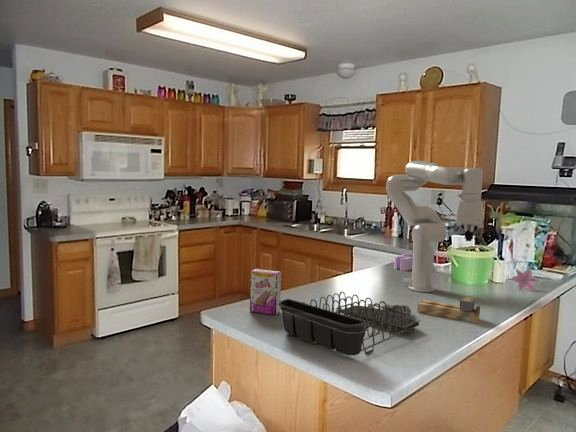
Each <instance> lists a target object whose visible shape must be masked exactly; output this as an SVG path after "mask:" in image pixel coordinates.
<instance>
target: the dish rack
mask: <svg viewBox="0 0 576 432" xmlns="http://www.w3.org/2000/svg"><path fill="white" fill-rule="evenodd" d="M341 294H343V295H344V298H343V297H342V298H341ZM335 295H336V296H337V297H338V300H335ZM354 296H355V297H356V298H357V301H354ZM329 297H331V300H332V301H331V303H332V304H331V309H330V304H329V303H328V300H329ZM348 298H349V299H350V301H351V303H347V301H348ZM359 298H360V297H359V295H357V294H352V296H347V297H346V293H345V292H344V291H340V292H339V293H337V292H336V293H334V294H333V295H331V294H328V295H327V296H326V297H325V296H321V297H320V299H319V305H318V303H317V301H316V299H314V298H313V299H311V300H310V303H309V304H308V303H305V302H304V301H298V300H294V299H292V298H286V299H282V300H280V302H279V306H280V311H281V318H282V324H283V325H282V326H283V329H284V331H285V333H287V334H289V335H291V336H294V337H296V336H297V337H298V338H299V339H302V340H305V341H307V342H309V343H310V342H311V343H315V345H318V346H321V347H323V348H326V349H328V350H331V351H333V350H335V352H337V353H340V354H342V355H345V356H350V357H352V356H357V355H359V354H361V352H363V351H364V354H365V355H368V354H371V353H373V352H374V350H375V349H374V346H377V345H379V344H382V343H383V342H386V341H388V340H390V339H392V338H394V337H397V336H398V335H401V334H403V333H405V332H407V334H408V335H410V334H412V333H414V332H415V328H417V327H418V326H420V322H421V319H419V320H417V319H414V318H413V317H411V316H410V314H408V313H405V312H402V309H401V307H400V305H399V304H396V306H395V307H397V306H398V307H399V308H400V309H401V311H398V310H395V307H394V308H392V307H390V308H387V306H386V304H387V303H386V302H385V301H384V300H382V301H381V300H380V302H379V303H377V302H375V303H374V304H373V301H372V299H371V298H370V297H366V298H365V299H359ZM322 299H324V301H325V303H324V304H323V305H322V308H321V304H322ZM342 300H343V301H344V304H343V305H341V301H342ZM367 300H370V303H367ZM313 301H314V302H315V306H314V305H312V302H313ZM335 302H336V303H337V304H338V306H337V308H336V309H335V305H334V304H335ZM362 302H363V303H364V305H361V303H362ZM354 304H355V305H354ZM356 304H357V305H356ZM381 304H383V305H385V307H382V306H383V305H382V306H381ZM367 305H368V306H367ZM348 306H350V307H348ZM343 307H344V308H343ZM375 307H376V308H375ZM383 308H385V309H386V310H385V309H384V310H383ZM387 309H388V311H387ZM389 310H393V312H390V311H389ZM397 312H400V313H401V315H400V314H397ZM402 313H404V314H407V315H409V317H407V316H404V315H402ZM369 322H370V324H369ZM376 325H378V329H377V331H376ZM369 328H371V335H370V334H369ZM392 329H395V334H393V335H391V330H392ZM387 331H388V335H389V337H387V338H385V332H387ZM398 331H400V332H398ZM366 333H367V337H366V338H365V336H366ZM380 334H382V340H380V341H377V342H376V341H375V336H377V335H380ZM371 338H372V344H371V345H368V346H366V347H365V344H364V343H365V342H364V341H366V340H368V339H371ZM370 348H372V349H370ZM369 349H370V350H369ZM367 350H368V351H367Z"/></svg>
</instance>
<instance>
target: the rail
mask: <svg viewBox="0 0 576 432" xmlns="http://www.w3.org/2000/svg"><path fill="white" fill-rule="evenodd" d="M459 308H460V305H455V304H449V303H444V302H436V301H431V300H424V299H421V300H420V302H418V303H417V313H420V314H425V315H430V316H435V317H436V316H437V317H442V318H447V319H451V320H457V321H463V322H467V323H474V324H477V323H478V322H479V320H480V314H481V305H477V306H475V308H474V309H473V311H472V312H469V311H464V310H459Z"/></svg>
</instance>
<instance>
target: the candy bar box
mask: <svg viewBox="0 0 576 432" xmlns="http://www.w3.org/2000/svg"><path fill="white" fill-rule="evenodd" d="M249 285H250V286H249V287H250V290H249V293H250V294H249V295H250V296H249V297H250V298H249V299H250V300H249V312H251V313H257V314H265V315H270V316H278V314H280V312H281V309H280V307H281V306H279V302H280V301H281V291H282V290H281V286H282V271H278V270H271V269H270V270H268V269H263V268H262V269H261V268H254V269H252V270H251V271H250V283H249Z"/></svg>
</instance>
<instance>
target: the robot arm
mask: <svg viewBox="0 0 576 432" xmlns="http://www.w3.org/2000/svg"><path fill="white" fill-rule="evenodd" d="M404 169H405V174H394V175H391V176H389V177H388V178H387V179H386V184H385V189H386V193H387V197H388V198H389V199H390V201H391V202H392V203H393V205H394V206H395V207H396V208H397V210H398V212H399V213H400V215H401V216H402V218H403V220H404V221H405V223H406V224H407V225H409V226H411V227H412V226H413V228H412V230H411V239H412V254H413V264H412V269H411V277H410V278H408V277H403V278H402V281H403V283H405V284H408V285H407V289H409V290H411V291H415V292H419V293H430V292H431V293H432V292H435V291H436V287H435V286H434V285H433V279H434V278H433V276H434V275H433V274H434V260H435V259H434V256H435V252H434V248H433V245H432V243H433V244H434V243H441V242H444V241H445V240H446V238H447V237H448V230H447V227H446V225H445V224H444V223H443V220H441V218H440V216H439V215H438V214H437V213H436V211H435V210H434V209H433V208H432V207H429V206H427V205H423V206H422V205H417V204H416V203H415V201H414V200H413V199H412V197H411V196H410V195H408V194H407V193H406V192H415V191H418V190H419V189H421V187H422V186H424V184H426V183H427V182H431V183H434V184H440V185H447V186H450V185H451V186H452V185H453V186H454V185H455V186H462V189H461V194H460V193H459V194H458V195H457V197H458V198H459V199H461V200H459V202H458V206H457V211H456V218H455V219H456V224H455V225H456V226H457V227H459V228H462V230H463V231H464V239H465V242H472V240H473V239H474V232H475V231H476V230H477V229H483V228H484V203H483V201H482V188H483V177H484V176H483V173H484V172H483V169H482V168H480V167H479V168H478V167H457V166H456V167H455V166H451V167H450V166H441V165H439V164H437V163H436V162H432V161H431V162H430V161H427V160H411V161H409V162H408V163H407V164H406V165H405V168H404ZM469 225H470V229H469Z"/></svg>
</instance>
